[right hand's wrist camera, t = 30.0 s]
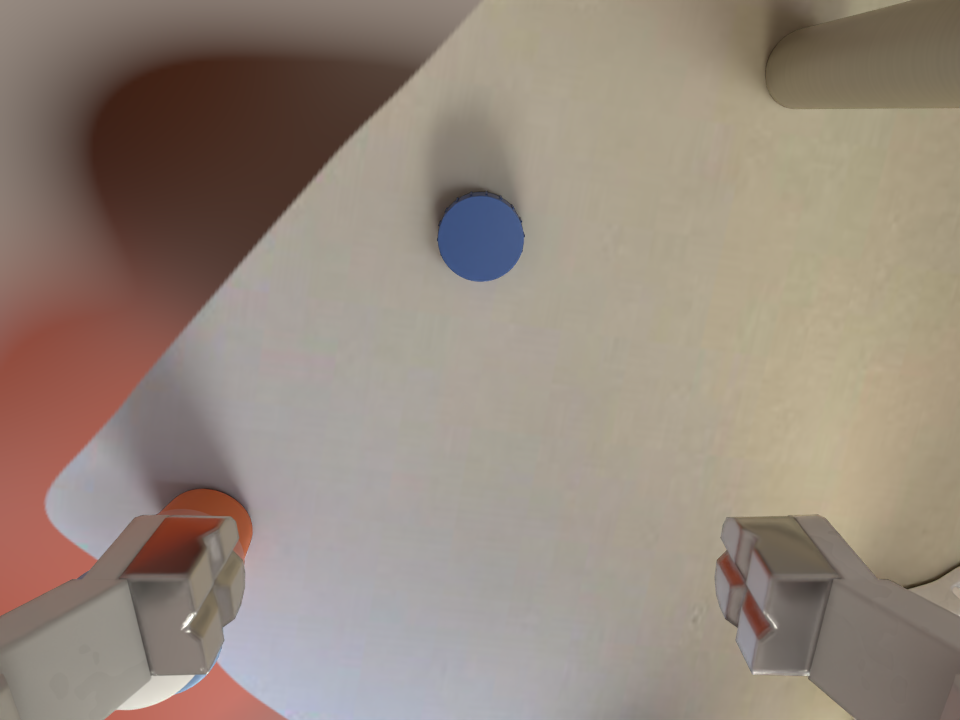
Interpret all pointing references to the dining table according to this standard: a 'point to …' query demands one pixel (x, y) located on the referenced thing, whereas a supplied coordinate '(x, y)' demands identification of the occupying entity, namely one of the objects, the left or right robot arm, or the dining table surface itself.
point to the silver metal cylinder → (872, 60)
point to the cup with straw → (224, 505)
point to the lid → (480, 236)
